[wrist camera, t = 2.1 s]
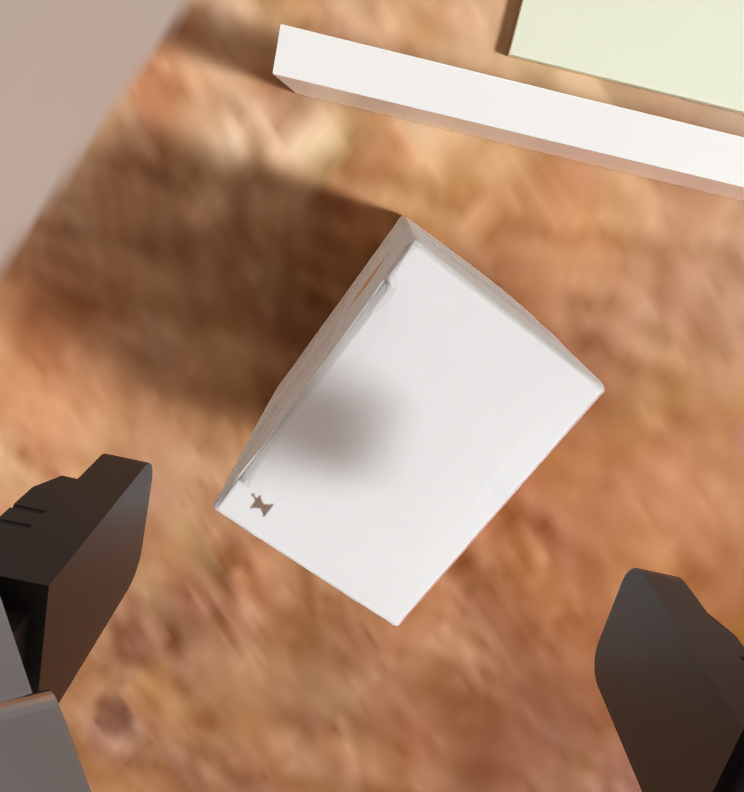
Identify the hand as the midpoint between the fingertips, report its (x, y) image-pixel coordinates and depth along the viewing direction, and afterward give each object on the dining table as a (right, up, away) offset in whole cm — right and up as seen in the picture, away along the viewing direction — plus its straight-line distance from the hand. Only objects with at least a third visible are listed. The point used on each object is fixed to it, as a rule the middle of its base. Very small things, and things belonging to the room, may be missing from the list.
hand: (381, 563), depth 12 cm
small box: (+1, +5, +14) cm, 15 cm away
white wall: (+7, +11, +12) cm, 18 cm away
